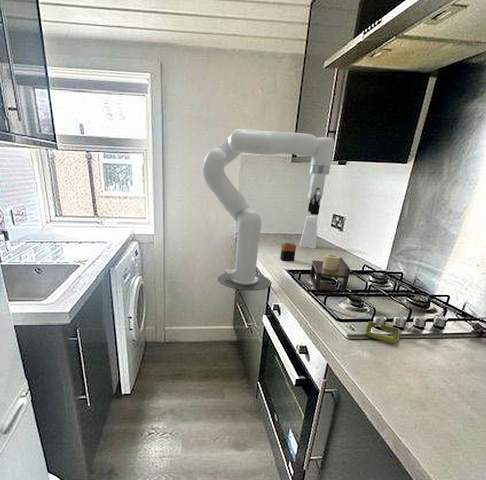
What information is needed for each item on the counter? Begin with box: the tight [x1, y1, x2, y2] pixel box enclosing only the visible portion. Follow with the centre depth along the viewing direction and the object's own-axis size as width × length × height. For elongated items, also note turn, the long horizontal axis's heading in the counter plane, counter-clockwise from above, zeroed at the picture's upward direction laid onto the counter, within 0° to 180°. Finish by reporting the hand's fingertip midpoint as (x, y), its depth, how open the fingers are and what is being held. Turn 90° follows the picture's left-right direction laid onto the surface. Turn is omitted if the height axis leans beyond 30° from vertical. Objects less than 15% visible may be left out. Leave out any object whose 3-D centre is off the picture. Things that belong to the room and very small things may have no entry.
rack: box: [309, 256, 351, 292], centre depth 132 cm, size 12×20×11 cm, turn 168°
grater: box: [299, 215, 319, 249], centre depth 204 cm, size 10×10×20 cm
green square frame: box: [365, 320, 401, 344], centre depth 91 cm, size 9×9×2 cm
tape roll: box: [322, 253, 341, 270], centre depth 129 cm, size 6×6×6 cm
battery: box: [279, 241, 297, 262], centre depth 168 cm, size 4×7×10 cm, turn 96°
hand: (312, 213), depth 128 cm, fingers open, 9 cm apart
